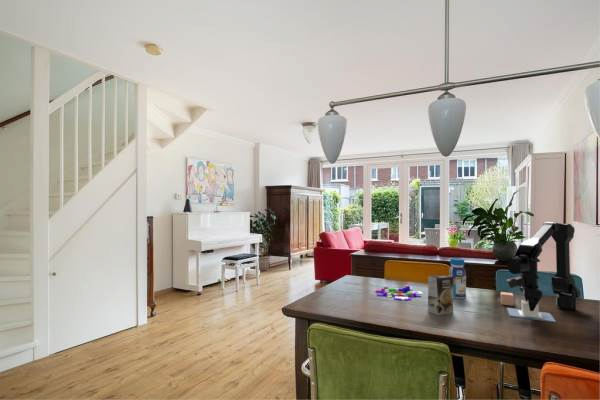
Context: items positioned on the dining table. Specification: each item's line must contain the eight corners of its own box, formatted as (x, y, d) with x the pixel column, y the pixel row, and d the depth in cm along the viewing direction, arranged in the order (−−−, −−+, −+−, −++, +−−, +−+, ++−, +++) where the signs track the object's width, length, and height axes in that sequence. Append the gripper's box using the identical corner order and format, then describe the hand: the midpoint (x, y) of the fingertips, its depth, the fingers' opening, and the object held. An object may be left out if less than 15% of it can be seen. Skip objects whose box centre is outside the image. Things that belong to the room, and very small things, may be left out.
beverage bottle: (450, 293, 178) (450, 257, 178) (467, 296, 173) (467, 258, 173) (447, 297, 171) (446, 259, 171) (464, 300, 166) (464, 260, 166)
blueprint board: (549, 314, 144) (549, 312, 144) (556, 322, 133) (556, 321, 133) (506, 308, 151) (506, 307, 151) (509, 316, 141) (509, 315, 141)
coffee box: (438, 315, 141) (438, 278, 142) (427, 311, 147) (427, 275, 147) (454, 313, 145) (453, 276, 145) (442, 309, 151) (442, 273, 151)
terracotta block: (512, 303, 161) (512, 293, 161) (513, 306, 156) (513, 295, 157) (500, 301, 163) (500, 291, 163) (501, 304, 159) (501, 294, 159)
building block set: (380, 301, 165) (380, 292, 165) (374, 290, 186) (374, 282, 186) (430, 302, 163) (430, 293, 163) (418, 291, 184) (418, 283, 184)
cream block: (536, 313, 144) (536, 301, 144) (538, 316, 139) (538, 304, 139) (521, 311, 146) (521, 300, 146) (523, 314, 141) (523, 303, 141)
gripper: (505, 267, 155) (505, 300, 154) (510, 274, 138) (510, 311, 138) (534, 269, 150) (534, 303, 149) (542, 277, 133) (542, 315, 133)
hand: (529, 308), depth 142 cm, fingers open, 8 cm apart
